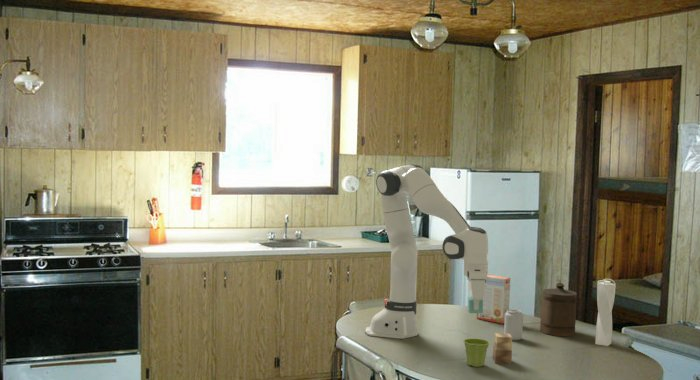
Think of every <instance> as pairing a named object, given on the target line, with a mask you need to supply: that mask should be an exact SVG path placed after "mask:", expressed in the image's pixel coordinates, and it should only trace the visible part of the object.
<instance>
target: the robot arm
mask: <svg viewBox="0 0 700 380" xmlns="http://www.w3.org/2000/svg"><path fill="white" fill-rule="evenodd" d="M375 185H376V188H377V190H378V192H379V193H380V203H381V204H380V205H381V211H382V215H383V221H384V226H385V232H386V234H387V237H388V241H389V246H390V250H391V255H390V281H389V282H390V287H389V298H385V299H384V300H383V304H384V308H383V309H381V310H380V311H379V312H378V313H376V314H374V315H373V316H372V319H371V321H370V325H369V326H367V327H365V334H366V335H367V336H371V337H382V338H391V339H392V338H393V339H400V340H401V339H402V340H403V339H407V338H412V337H413V338H414V337H416V336H418V335H419V331H418V325H417V316H416V315H417V310H418V302H417V278H418V255H419V252H418V246H417V242H416V237H415V233H414V229H413V225H412V219H411V214H410V210H409V204H408V200H407V196H408V195H409V196H410V198H411V200H412V201H413V204H414V205H415V207H417V209H418V210H419V211H420V212H421V213H423V214H426V215H428V216H432V217H437V218H439V219H441V220H443V221H445V222H446V223H447V224H448V225H449V227H450V228H451V229H452V231H453V232H454V233H455V234H450V235H447V236H446V237H445V238H444V239H443V241H442V246H441V247H442V252H443V254H444V256H445V257H446V258H447V259H449V260H453V261H457V260H463V276H464V277H467V278H466V280H467V281H468V282H467V284H468V285H467V286H468V292H469V294H470V297H472V298H473V300H474V305H473V308H474V309H475V310H478V309H479V301H480V300H483V296H484V287H485V279H487V276H488V275H489V274H488V273H489V271H488V270H489V262H488V261H489V260H488V255H489V238H488V233H487V231H486V230H485V229H484V228H481V227H478V226H470V225H469V223H468V222H467V220H465V218H464V217H463V216H462V214H461V213H460V211H459V210H458V209H457V208H456V207H455V206H454V205H453V204H452V202H450V201H449V200H448V198H446V196H445V195H444V194H443V193H442V192H441V190H440V189H439V188H438V186H437V185H436V183H435V182H434V180H433V179H432V177H431V175H429V174H428V173H427V172H426V171H425V169H424V167H422V166H421V165H419V164H407V165H401V166H397V167H393V168H390V169H387V170H383V171H382V172H380V173H378V174H377V176H376V179H375Z"/></svg>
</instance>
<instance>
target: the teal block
mask: <svg viewBox="0 0 700 380" xmlns="http://www.w3.org/2000/svg"><path fill="white" fill-rule="evenodd" d="M467 298H468V299H467V311H468V313H469V314H477V313H483V300H480V301H479V309H478V310H475V309H474V308H473V305H474V300H473V298H472V297H471V296H468V297H467Z"/></svg>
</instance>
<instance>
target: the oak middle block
mask: <svg viewBox="0 0 700 380" xmlns="http://www.w3.org/2000/svg"><path fill="white" fill-rule="evenodd" d="M512 342H513V340H512V337H511V335H510V334H504V332H503V333H502V332H494V342H493V343H494V345H493V346H495V348H496V350H506V351H511V350H512V346H513V343H512Z"/></svg>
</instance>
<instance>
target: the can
mask: <svg viewBox="0 0 700 380" xmlns="http://www.w3.org/2000/svg"><path fill="white" fill-rule="evenodd" d="M523 322H524V314H523V312H522V310H520V309H510V308H509V310H507V312H506V313H505V323H503V324H504V325H503V328H504V330H503V333H504V334H510V335H511V337H512V341H520V340H521V339H523V327H524V326H523V324H524V323H523Z"/></svg>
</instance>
